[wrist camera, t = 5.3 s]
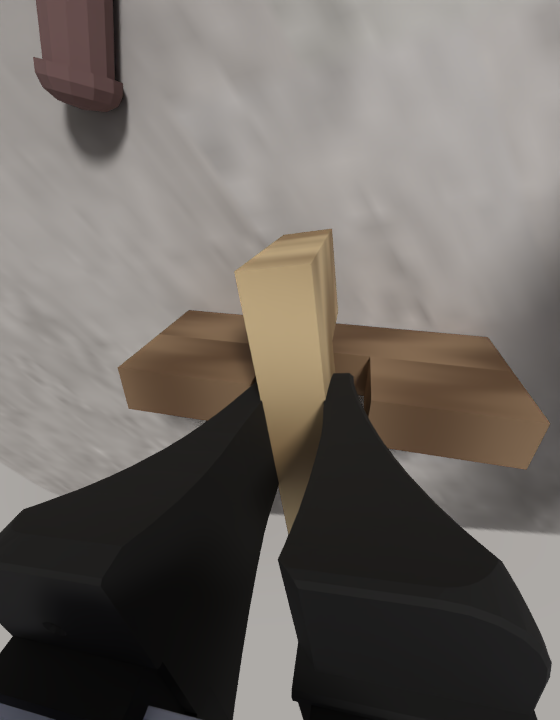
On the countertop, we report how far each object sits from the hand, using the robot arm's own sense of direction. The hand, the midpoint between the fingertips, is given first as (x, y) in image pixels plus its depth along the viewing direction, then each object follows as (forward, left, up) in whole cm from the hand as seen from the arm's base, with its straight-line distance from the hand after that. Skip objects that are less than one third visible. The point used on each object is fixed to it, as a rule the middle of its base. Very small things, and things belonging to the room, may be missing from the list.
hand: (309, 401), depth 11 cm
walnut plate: (0, 0, -4) cm, 4 cm away
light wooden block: (0, 0, -3) cm, 3 cm away
